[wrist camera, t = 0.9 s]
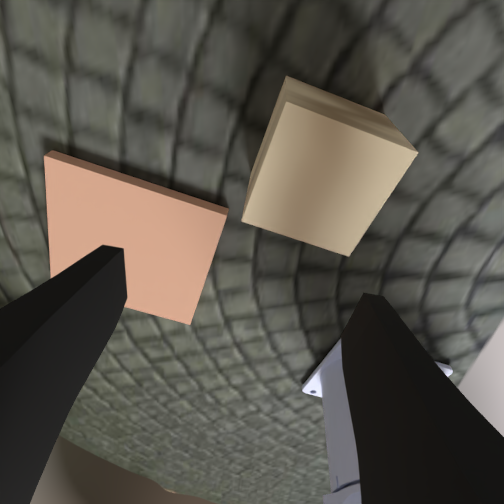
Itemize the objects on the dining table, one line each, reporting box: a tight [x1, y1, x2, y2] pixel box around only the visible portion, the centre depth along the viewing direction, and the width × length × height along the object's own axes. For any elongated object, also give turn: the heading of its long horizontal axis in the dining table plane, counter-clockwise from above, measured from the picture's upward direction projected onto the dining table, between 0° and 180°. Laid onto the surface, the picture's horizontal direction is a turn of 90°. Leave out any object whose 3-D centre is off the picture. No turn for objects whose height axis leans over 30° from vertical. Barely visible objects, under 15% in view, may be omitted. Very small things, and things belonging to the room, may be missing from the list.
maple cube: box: [241, 76, 418, 257], centre depth 15 cm, size 5×5×5 cm
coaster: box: [44, 150, 229, 325], centre depth 21 cm, size 10×10×1 cm
